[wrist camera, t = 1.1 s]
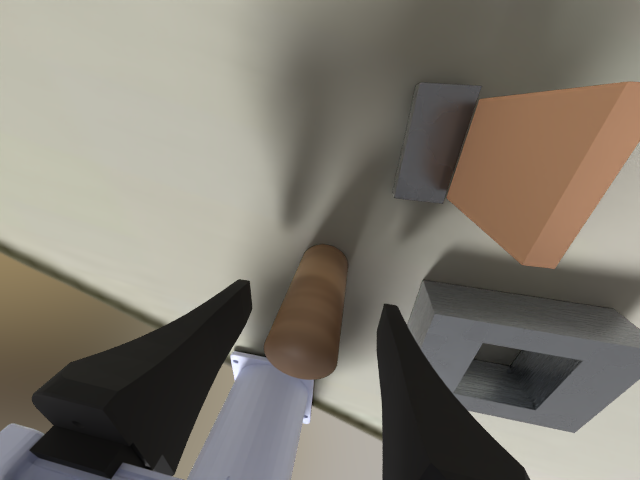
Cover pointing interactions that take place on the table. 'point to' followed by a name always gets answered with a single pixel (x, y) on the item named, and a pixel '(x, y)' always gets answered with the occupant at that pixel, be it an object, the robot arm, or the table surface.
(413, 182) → the base
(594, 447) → the table surface
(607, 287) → the table surface
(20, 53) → the table surface
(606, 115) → the tan flat block
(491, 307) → the block
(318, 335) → the peg
